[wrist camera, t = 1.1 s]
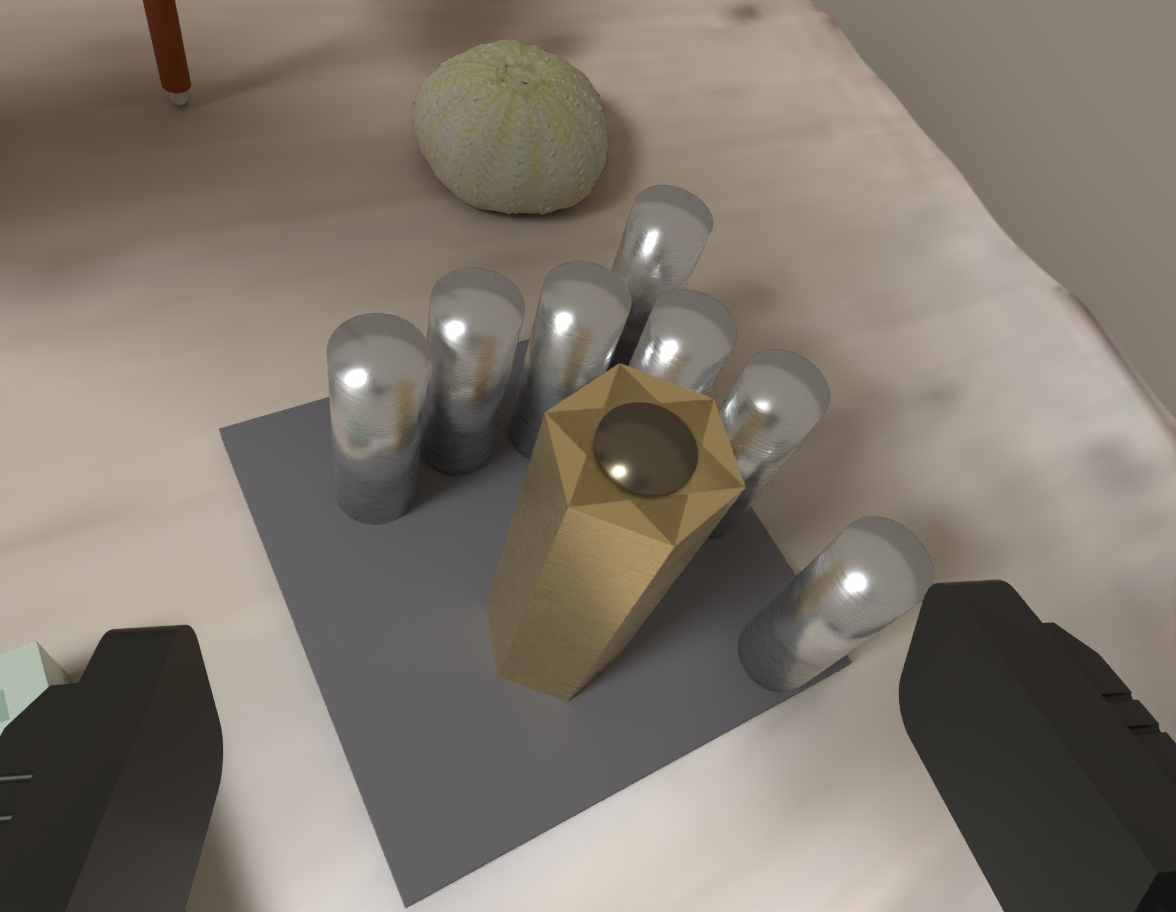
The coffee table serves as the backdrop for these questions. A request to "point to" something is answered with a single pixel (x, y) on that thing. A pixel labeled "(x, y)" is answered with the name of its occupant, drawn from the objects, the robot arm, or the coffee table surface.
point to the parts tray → (25, 679)
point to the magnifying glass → (168, 48)
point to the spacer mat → (483, 652)
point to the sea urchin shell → (512, 128)
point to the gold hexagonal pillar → (605, 525)
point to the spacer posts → (574, 359)
